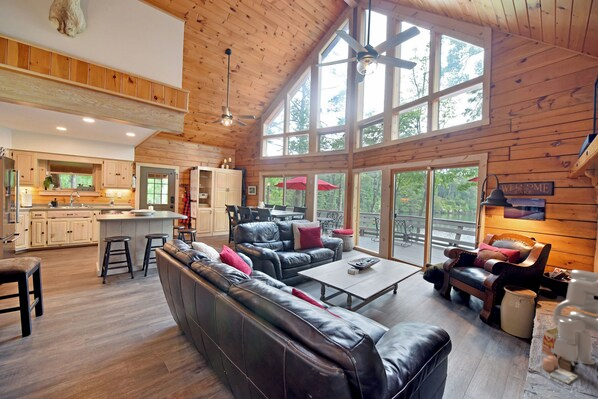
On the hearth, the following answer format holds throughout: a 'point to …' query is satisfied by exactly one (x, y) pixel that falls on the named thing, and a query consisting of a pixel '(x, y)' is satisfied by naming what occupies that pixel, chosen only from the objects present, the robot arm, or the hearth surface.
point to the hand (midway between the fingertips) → (566, 367)
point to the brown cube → (565, 364)
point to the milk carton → (549, 341)
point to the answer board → (563, 375)
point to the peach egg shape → (554, 361)
